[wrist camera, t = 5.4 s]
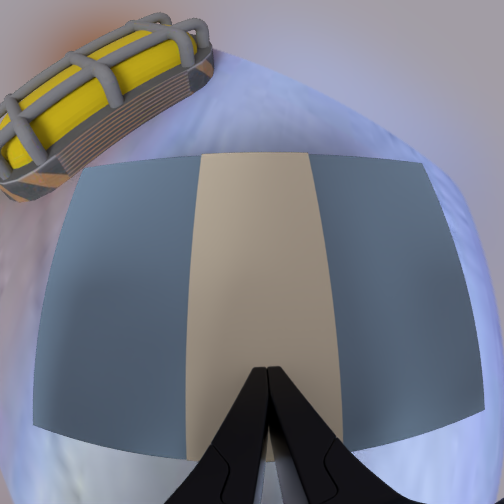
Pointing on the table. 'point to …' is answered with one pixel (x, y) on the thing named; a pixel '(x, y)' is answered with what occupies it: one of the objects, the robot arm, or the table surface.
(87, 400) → the lid
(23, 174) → the cage light
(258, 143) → the table surface
